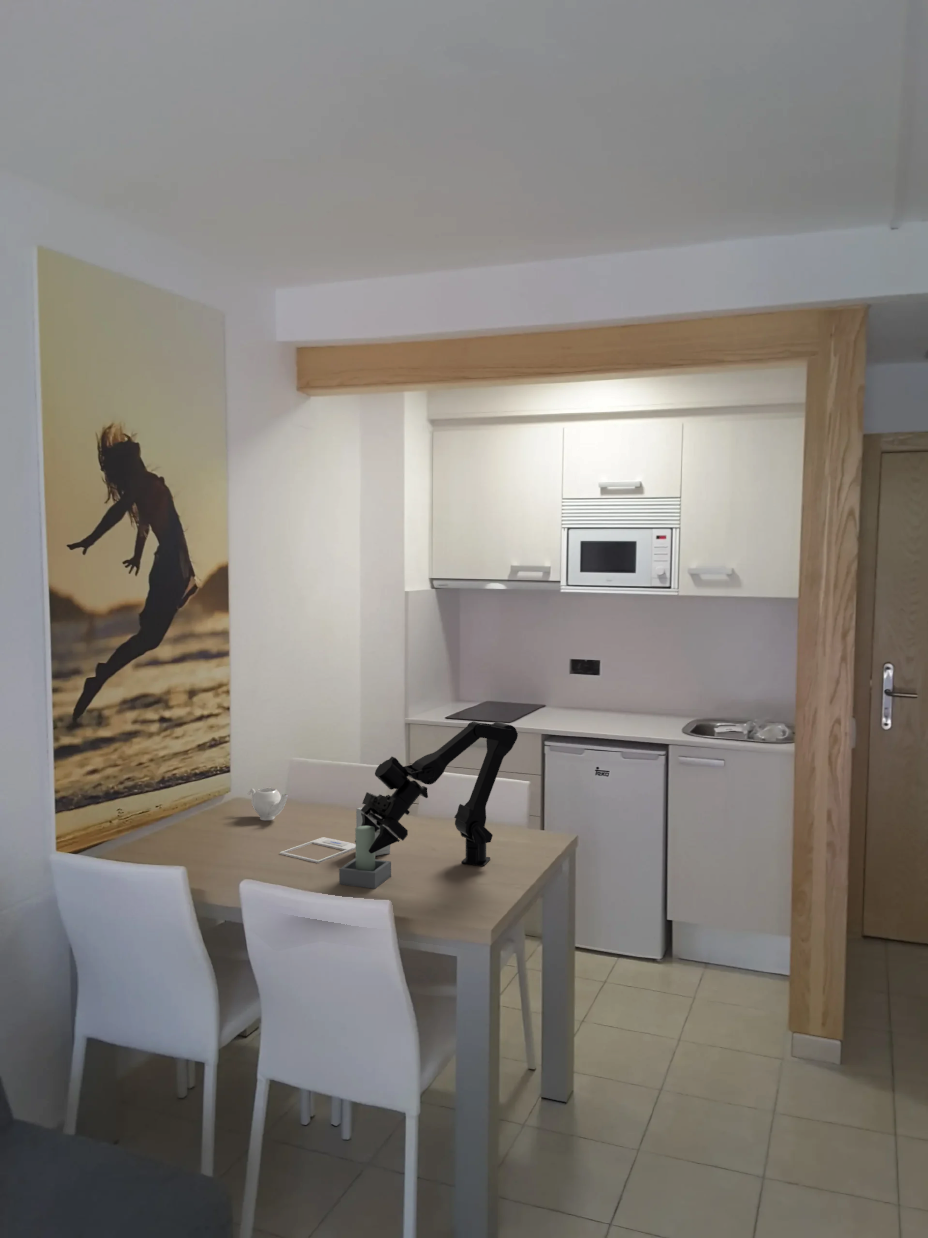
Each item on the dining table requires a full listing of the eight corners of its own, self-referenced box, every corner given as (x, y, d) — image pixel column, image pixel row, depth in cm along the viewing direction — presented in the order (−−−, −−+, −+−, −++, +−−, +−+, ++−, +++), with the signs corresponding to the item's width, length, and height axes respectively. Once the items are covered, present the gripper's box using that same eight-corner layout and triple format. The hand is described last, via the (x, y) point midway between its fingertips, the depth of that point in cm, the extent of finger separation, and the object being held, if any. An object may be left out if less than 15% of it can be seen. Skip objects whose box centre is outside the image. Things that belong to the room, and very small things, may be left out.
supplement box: (367, 858, 269) (367, 813, 268) (355, 851, 275) (355, 807, 274) (391, 854, 273) (391, 809, 272) (378, 847, 279) (378, 804, 278)
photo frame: (360, 844, 279) (318, 860, 264) (360, 848, 279) (318, 864, 264) (323, 836, 287) (279, 851, 273) (323, 840, 288) (279, 855, 273)
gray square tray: (356, 872, 257) (356, 857, 257) (391, 876, 254) (391, 861, 253) (339, 884, 247) (339, 868, 247) (375, 888, 244) (374, 873, 244)
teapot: (260, 810, 319) (259, 782, 319) (298, 821, 306) (298, 792, 306) (235, 816, 312) (235, 787, 312) (274, 827, 299) (274, 798, 299)
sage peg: (368, 873, 254) (367, 824, 253) (379, 878, 250) (378, 828, 249) (352, 877, 251) (351, 828, 250) (362, 882, 247) (362, 832, 246)
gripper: (367, 774, 259) (328, 820, 255) (396, 789, 243) (355, 838, 238) (394, 799, 263) (357, 845, 259) (424, 815, 247) (385, 865, 243)
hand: (362, 847), depth 250 cm, fingers open, 9 cm apart
